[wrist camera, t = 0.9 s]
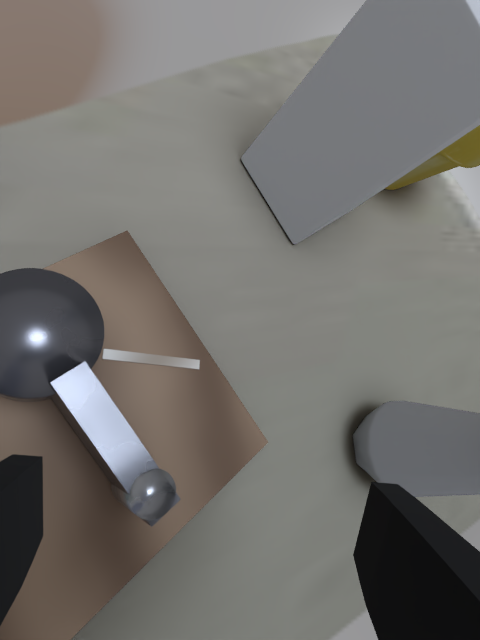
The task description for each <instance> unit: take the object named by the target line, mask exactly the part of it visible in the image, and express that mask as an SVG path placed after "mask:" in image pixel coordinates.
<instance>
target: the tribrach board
mask: <svg viewBox="0 0 480 640" xmlns="http://www.w3.org/2000/svg"><path fill="white" fill-rule="evenodd" d="M43 269H45V270H50V271H54V272H57V273H60V274H63V275H65V276H67V277H69V278H71V279H73V280H74V281H76V282H77V283H79V284H80V285H81V286H82V287H84V288H85V289H86V290H87V291H88V292H89V293H90V295H91V296H92V297H93V298H94V300H95V302H96V303H97V305H98V307H99V309H100V311H101V314H102V318H103V321H104V342H103V347H102V350H101V353H100V355H99V357H98V360H97V361H96V363H95V364H94V366H93V367H92V369H91V370H92V372H93V373H94V375H95V376H96V378H97V379H98V380H99V382H100V383H101V385H102V386H103V388H104V389H105V391H106V392H107V393H108V395H109V396H110V398H111V399H112V401H113V402H114V404H115V405H116V406H117V408H118V409H119V411H120V412H121V414H122V415H123V417H124V418H125V419H126V421H127V422H128V424H129V425H130V427H131V428H132V429H133V431H134V432H135V434H136V435H137V437H138V438H139V440H140V441H141V442H142V444H143V445H144V447H145V448H146V450H147V451H148V453H149V454H150V455H151V457H152V458H153V460H154V461H155V463H156V464H157V466H158V467H159V468H160V469H162V470H164V471H166V472H168V473H169V474H170V475H171V476H172V478H173V480H174V482H175V485H176V493H177V494H178V496H179V497H180V499H181V500H180V501H179V502H178V503H177V504H176V505H174V506H173V507H172V508H171V509H170V510H169V511H168V512H167V513H166V514H165V515H164V516H163V517H162V518H161V519H160V520H159V521H158V522H157V523H156V524H154V525H153V526H152V527H151V526H150V525H148V524H147V523H146V522H144V521H143V520H142V519H141V518H139V517H138V516H137V515H135V514H134V513H133V512H131V511H130V510H129V509H128V508H127V507H125V506H124V505H123V504H121V503H120V502H119V501H117V500H116V499H115V497H114V496H113V494H112V491H111V483H110V482H109V480H108V479H107V477H106V476H105V474H104V473H103V472H102V470H101V469H100V467H99V466H98V465H97V463H96V462H95V460H94V459H93V457H92V456H91V455H90V453H89V452H88V450H87V449H86V448H85V446H84V445H83V443H82V442H81V440H80V439H79V438H78V436H77V435H76V433H75V432H74V431H73V429H72V428H71V426H70V425H69V423H68V422H67V421H66V419H65V418H64V416H63V415H62V414H61V412H60V411H59V409H58V408H57V406H56V405H55V404H54V402H53V401H52V399H47V400H43V401H37V402H19V401H14V400H9V399H6V398H3V397H1V396H0V461H2V460H4V459H5V458H7V457H9V456H11V455H12V454H17V455H30V456H43V538H42V540H41V543H40V545H39V547H38V550H37V552H36V555H35V557H34V560H33V562H32V564H31V567H30V569H29V571H28V573H27V576H26V578H25V580H24V583H23V585H22V587H21V589H20V591H19V593H18V595H17V596H16V598H15V600H14V602H13V604H12V606H11V607H10V609H9V611H8V613H7V615H6V617H5V618H4V620H3V622H2V624H1V626H0V640H71V639H72V638H73V637H74V636H75V635H76V634H77V633H78V632H79V631H80V630H81V629H82V628H83V627H84V626H85V625H86V624H87V623H88V622H89V621H90V620H91V619H92V618H93V617H94V616H95V615H96V614H97V613H98V612H99V611H100V610H101V609H102V608H103V607H104V606H105V605H106V604H107V603H108V602H109V601H110V600H111V599H112V598H113V597H114V596H115V595H116V594H117V593H118V592H119V591H120V590H121V589H122V588H123V587H124V586H125V585H126V584H127V583H128V582H129V581H130V580H131V579H132V578H133V577H134V576H135V575H136V574H137V573H138V572H139V571H140V570H141V569H142V568H143V567H144V566H145V565H146V564H147V563H148V562H149V561H150V560H151V559H152V558H153V557H154V556H155V555H156V554H157V553H158V552H159V551H160V550H161V549H162V548H163V547H164V546H165V545H166V544H167V543H168V542H169V541H170V540H171V539H172V538H173V537H174V536H175V535H176V534H177V533H178V532H179V531H180V530H181V529H182V528H183V527H184V526H185V525H186V524H187V523H188V522H189V521H190V520H191V519H192V518H193V517H194V516H195V515H196V514H197V513H198V512H199V511H200V510H201V509H202V508H203V507H204V506H205V505H206V504H207V503H208V502H209V501H210V500H211V499H212V498H213V497H214V496H215V495H216V494H217V493H218V492H219V491H220V490H221V489H222V488H223V487H224V486H225V485H226V484H227V483H228V482H229V481H230V480H231V479H232V478H233V477H234V476H235V475H236V474H237V473H238V472H239V471H240V470H241V469H242V468H243V467H244V466H245V465H246V464H247V463H248V462H249V461H250V460H251V459H252V458H253V457H254V456H255V455H256V454H257V453H258V452H259V451H260V450H261V449H262V448H263V447H264V446H265V445H266V444H267V443H268V441H267V440H266V438H265V437H264V435H263V434H262V432H261V431H260V429H259V428H258V426H257V425H256V423H255V422H254V420H253V419H252V417H251V416H250V414H249V413H248V411H247V410H246V408H245V407H244V405H243V404H242V402H241V401H240V399H239V398H238V396H237V395H236V393H235V391H234V390H233V388H232V387H231V385H230V384H229V382H228V381H227V379H226V378H225V376H224V375H223V373H222V372H221V370H220V369H219V367H218V366H217V364H216V363H215V361H214V360H213V358H212V357H211V355H210V354H209V352H208V351H207V349H206V348H205V346H204V345H203V343H202V342H201V340H200V339H199V337H198V336H197V334H196V333H195V331H194V330H193V328H192V327H191V325H190V324H189V322H188V321H187V319H186V318H185V316H184V315H183V313H182V312H181V310H180V309H179V307H178V306H177V304H176V303H175V301H174V300H173V298H172V297H171V295H170V294H169V292H168V291H167V289H166V288H165V286H164V285H163V283H162V282H161V280H160V279H159V277H158V276H157V274H156V273H155V271H154V270H153V268H152V267H151V265H150V264H149V262H148V261H147V259H146V258H145V256H144V255H143V253H142V252H141V250H140V249H139V247H138V246H137V244H136V243H135V241H134V240H133V238H132V237H131V235H130V234H129V232H128V231H125V232H123V233H121V234H118V235H116V236H114V237H112V238H110V239H107V240H105V241H103V242H101V243H99V244H96V245H94V246H92V247H90V248H87V249H85V250H83V251H81V252H79V253H76V254H74V255H72V256H70V257H68V258H65V259H63V260H61V261H59V262H56V263H54V264H52V265H50V266H48V267H45V268H43Z"/></svg>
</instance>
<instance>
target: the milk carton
mask: <svg viewBox="0 0 480 640" xmlns="http://www.w3.org/2000/svg"><path fill="white" fill-rule="evenodd" d="M479 125H480V0H366V2H365V3H364V4H363V5H362V7H361V8H360V9H359V10H358V12H357V13H356V14H355V15H354V17H353V18H352V19H351V20H350V22H349V23H348V24H347V25H346V27H345V28H344V29H343V30H342V32H341V33H340V34H339V35H338V37H337V38H336V39H335V40H334V42H333V43H332V44H331V45H330V47H329V48H328V49H327V50H326V52H325V53H324V54H323V55H322V57H321V58H320V59H319V60H318V62H317V63H316V64H315V65H314V67H313V68H312V69H311V70H310V72H309V73H308V74H307V75H306V77H305V78H304V79H303V80H302V82H301V83H300V84H299V85H298V87H297V88H296V89H295V90H294V92H293V93H292V94H291V95H290V97H289V98H288V99H287V100H286V102H285V103H284V104H283V105H282V107H281V108H280V109H279V110H278V112H277V113H276V114H275V115H274V117H273V118H272V119H271V120H270V122H269V123H268V124H267V125H266V127H265V128H264V129H263V130H262V132H261V133H260V134H259V135H258V137H257V138H256V139H255V140H254V142H253V143H252V144H251V146H250V147H249V148H248V149H247V151H246V152H245V153H244V154H243V156H242V157H241V160H242V162H243V164H244V166H245V167H246V169H247V170H248V172H249V174H250V175H251V177H252V179H253V180H254V182H255V183H256V185H257V187H258V188H259V190H260V192H261V193H262V195H263V196H264V198H265V200H266V201H267V203H268V205H269V206H270V208H271V209H272V211H273V213H274V214H275V216H276V218H277V219H278V221H279V222H280V224H281V226H282V227H283V229H284V231H285V232H286V234H287V235H288V237H289V239H290V240H291V242H292V243H293V244H297V243H299V242H301V241H302V240H304V239H305V238H307V237H309V236H310V235H312V234H314V233H315V232H317V231H319V230H320V229H322V228H324V227H325V226H327V225H329V224H330V223H332V222H333V221H335V220H337V219H338V218H340V217H342V216H343V215H345V214H347V213H348V212H350V211H352V210H353V209H355V208H356V207H358V206H359V205H361V204H362V203H364V202H365V201H367V200H368V199H370V198H371V197H373V196H374V195H376V194H377V193H379V192H380V191H382V190H383V189H385V188H386V187H388V186H389V185H391V184H392V183H394V182H395V181H397V180H398V179H400V178H401V177H403V176H404V175H406V174H407V173H409V172H410V171H412V170H413V169H415V168H416V167H418V166H419V165H421V164H422V163H424V162H425V161H427V160H428V159H430V158H431V157H433V156H434V155H436V154H437V153H439V152H440V151H442V150H443V149H445V148H446V147H448V146H449V145H451V144H452V143H454V142H455V141H457V140H458V139H460V138H461V137H463V136H464V135H466V134H467V133H469V132H470V131H472V130H473V129H475V128H476V127H478V126H479Z"/></svg>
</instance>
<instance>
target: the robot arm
mask: <svg viewBox="0 0 480 640" xmlns="http://www.w3.org/2000/svg"><path fill="white" fill-rule="evenodd" d="M42 538H43V456H30V455H17V454H12V455H11V456H9V457H7V458H5V459H4V460H2V461H0V626H1V624H2V622H3V620H4V618H5V617H6V615H7V613H8V611H9V609H10V607H11V606H12V604H13V602H14V600H15V598H16V596H17V595H18V593H19V591H20V589H21V587H22V585H23V583H24V580H25V578H26V576H27V573H28V571H29V569H30V567H31V564H32V562H33V560H34V557H35V555H36V552H37V550H38V547H39V545H40V543H41V540H42ZM353 556H354V560H355V564H356V568H357V572H358V576H359V581H360V585H361V588H362V592H363V596H364V600H365V603H366V607H367V609H368V612H369V615H370V618H371V620H372V623H373V626H374V629H375V631H376V634H377V637H378V640H480V552H479V551H478V550H477V549H476V548H475V547H473V546H472V545H471V544H470V543H469V542H467V541H466V540H465V539H464V538H463V537H461V536H460V535H459V534H458V533H457V532H455V531H454V530H453V529H452V528H451V527H450V526H448V525H447V524H446V523H445V522H444V521H442V520H441V519H440V518H439V517H438V516H437V515H435V514H434V513H433V512H432V511H431V510H429V509H428V508H427V507H426V506H425V505H423V504H422V503H421V502H420V501H419V500H417V499H416V498H415V497H414V496H413V495H411V494H410V493H409V492H408V491H406V490H405V489H404V488H402V487H401V486H400V485H398V484H391V483H378V482H371V486H370V490H369V494H368V498H367V502H366V506H365V510H364V514H363V518H362V522H361V526H360V530H359V534H358V538H357V542H356V546H355V550H354V554H353Z"/></svg>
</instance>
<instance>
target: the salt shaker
mask: <svg viewBox="0 0 480 640" xmlns="http://www.w3.org/2000/svg"><path fill="white" fill-rule="evenodd" d="M353 441H354V449H355V456H356V464H358V465H359V466H360V467H361V468H362V469H364V470H365V471H366V472H367V473H368V474H369V475H370V476H371V477H372V478H373V479H374V480H375V481H376V482H378V483H391V484H398V485H400V486H401V487H402V488H404V489H405V490H406V491H408V492H409V493H410V494H411V495H413V496H414V497H423V496H449V495H475V494H480V413H475V412H469V411H463V410H457V409H451V408H445V407H439V406H433V405H426V404H420V403H414V402H408V401H389V402H386V403H383V404H382V405H381V406H379V407H378V408H376V409H375V410H374V411H372V412H371V413H369V414H368V415H367V416H365V418H364V419H363V421H362V422H361V424H360V425H359V427H358V428H357V429H356V431H355V432H354V434H353Z"/></svg>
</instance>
